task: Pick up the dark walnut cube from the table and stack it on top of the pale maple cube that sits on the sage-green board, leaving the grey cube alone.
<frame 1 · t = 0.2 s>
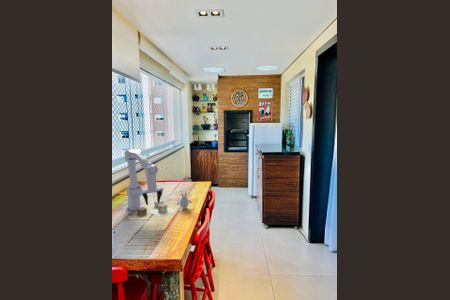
hand: (152, 203, 157), 10 cm above the table, fingers open, 7 cm apart
maple block: (162, 211, 168), point 1 cm above the table, touching station board
grey block: (159, 206, 178), on the table
walnut block: (142, 214, 163), on the table
toy figure: (184, 209, 172), on the table
station board: (162, 211, 168), on the table
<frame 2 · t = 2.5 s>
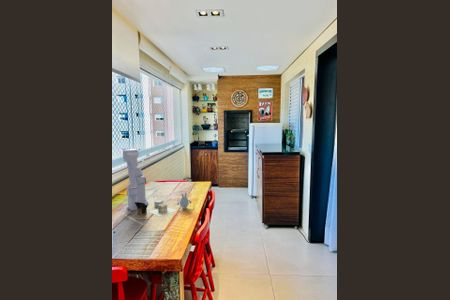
hand: (142, 212, 163), 1 cm above the table, fingers closed on walnut block, 4 cm apart
walnut block: (142, 214, 163), on the table, touching gripper
everything else where it was.
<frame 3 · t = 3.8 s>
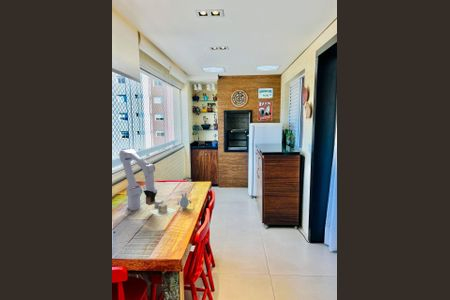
hand: (150, 201, 164), 9 cm above the table, fingers closed on walnut block, 4 cm apart
walnut block: (150, 203, 164), point 7 cm above the table, touching gripper
everything else where it was.
when the fingers open (8 cm above the table, at t = 5.5 s): walnut block stays where it is, resting on maple block.
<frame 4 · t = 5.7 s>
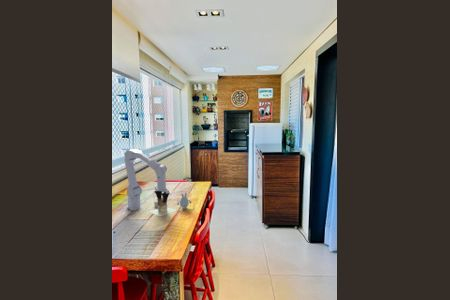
hand: (162, 201, 167), 8 cm above the table, fingers open, 6 cm apart
maple block: (162, 211, 168), point 1 cm above the table, touching station board, walnut block
walnut block: (162, 205, 167), point 5 cm above the table, touching maple block
everything else where it was.
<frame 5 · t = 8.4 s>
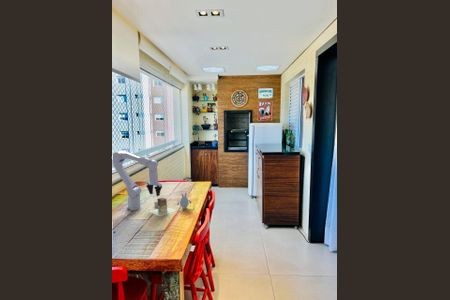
hand: (154, 194, 173), 10 cm above the table, fingers open, 7 cm apart
nothing on the table moved.
at the end: walnut block 0.3 cm off-centre on the maple block, point 4.5 cm above the maple block's base; walnut block tilted 0°; the gripper is holding nothing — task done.
